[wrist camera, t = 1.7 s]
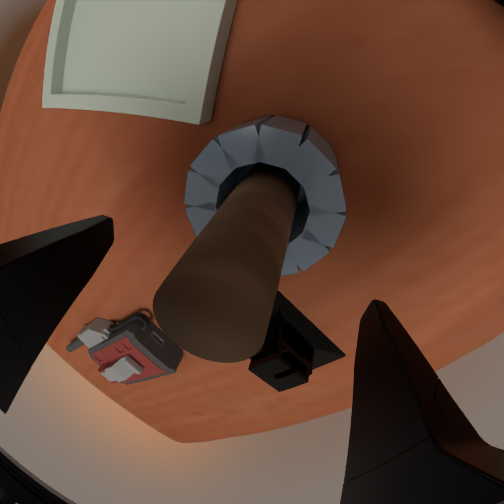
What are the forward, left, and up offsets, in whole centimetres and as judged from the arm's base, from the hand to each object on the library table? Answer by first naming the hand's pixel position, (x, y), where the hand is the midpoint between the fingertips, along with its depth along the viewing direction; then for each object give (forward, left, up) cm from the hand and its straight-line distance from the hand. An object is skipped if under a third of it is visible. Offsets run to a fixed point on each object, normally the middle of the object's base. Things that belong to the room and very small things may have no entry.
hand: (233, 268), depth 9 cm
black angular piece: (-4, +13, -10) cm, 17 cm away
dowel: (0, 0, -9) cm, 9 cm away
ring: (0, 0, -9) cm, 9 cm away
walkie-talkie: (+13, +24, -10) cm, 29 cm away
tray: (+11, -9, -9) cm, 17 cm away
